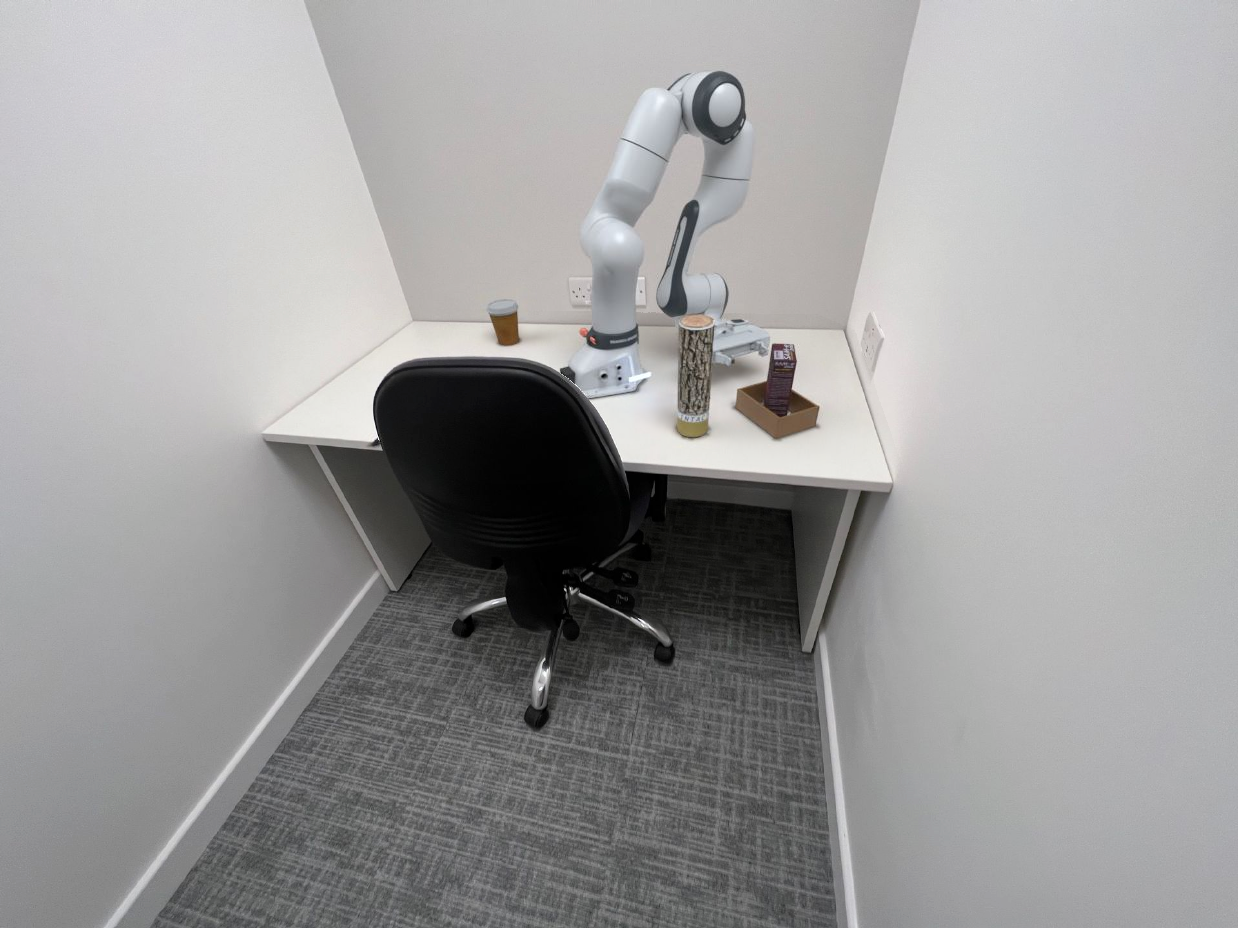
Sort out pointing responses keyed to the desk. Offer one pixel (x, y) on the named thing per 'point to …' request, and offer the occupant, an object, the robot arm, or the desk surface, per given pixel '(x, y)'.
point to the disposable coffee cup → (504, 320)
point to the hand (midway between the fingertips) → (749, 357)
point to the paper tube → (694, 374)
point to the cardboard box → (770, 422)
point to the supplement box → (780, 378)
